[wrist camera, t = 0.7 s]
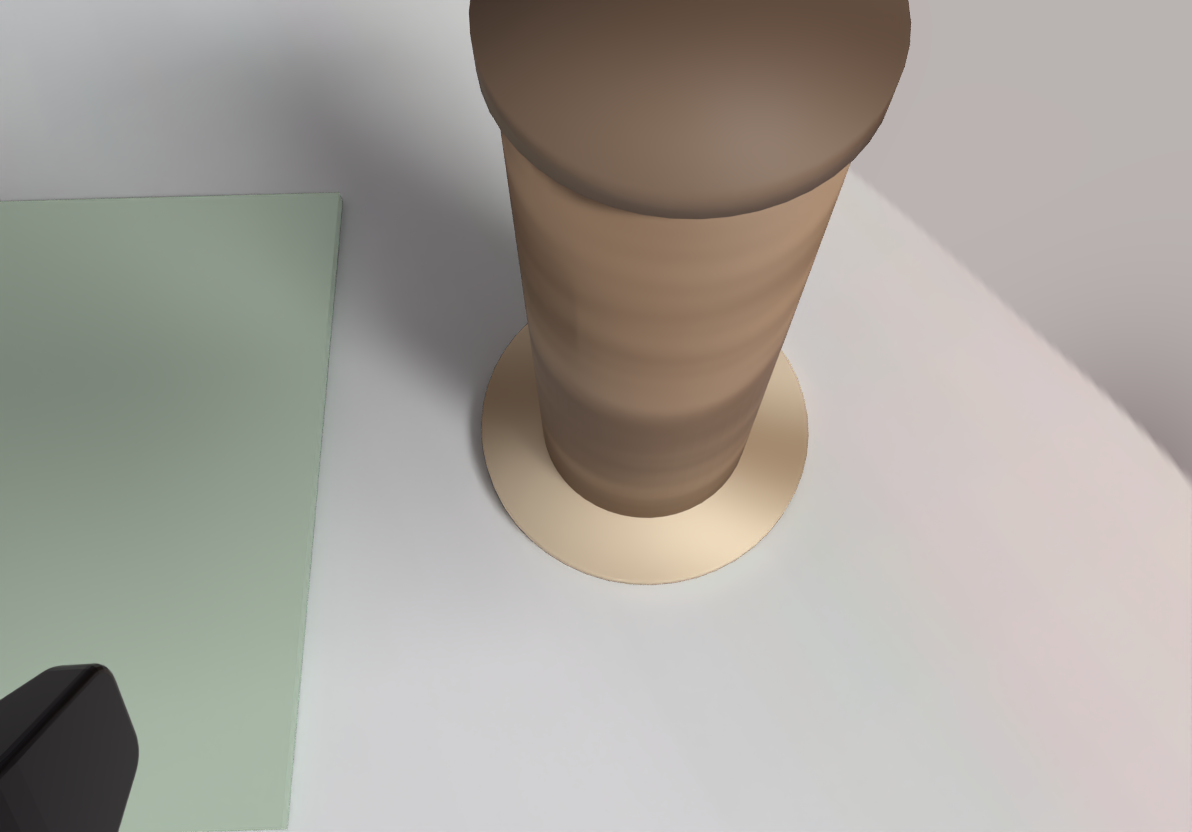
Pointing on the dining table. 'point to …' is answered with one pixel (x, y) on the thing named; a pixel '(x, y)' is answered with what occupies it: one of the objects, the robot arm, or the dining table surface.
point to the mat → (168, 476)
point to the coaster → (630, 542)
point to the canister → (672, 212)
